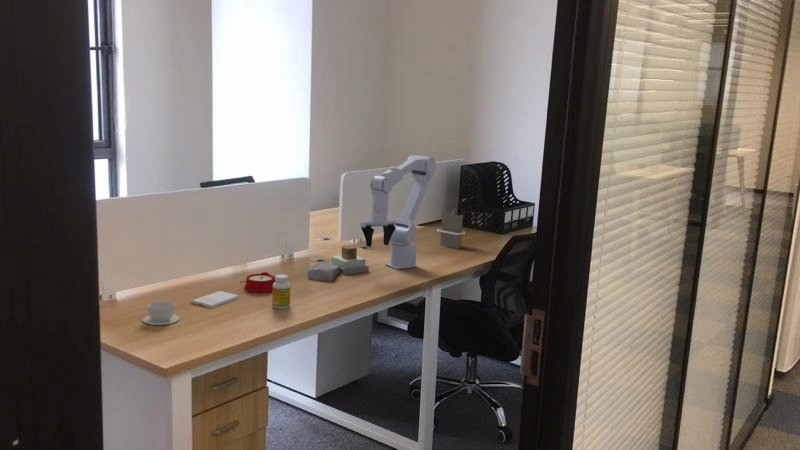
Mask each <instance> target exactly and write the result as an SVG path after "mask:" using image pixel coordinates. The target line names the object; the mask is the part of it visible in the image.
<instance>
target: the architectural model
mask: <svg viewBox="0 0 800 450" xmlns="http://www.w3.org/2000/svg"><path fill="white" fill-rule="evenodd" d="M441 214H442V215H441V227H439V228H437V229H436V230H437V232H440V244H439V245H440V246H443V247H448V248H453V249H460V248H462V235H465V234H466V230H463V222H464V221H463V220H464V219H463V218H464V215H463V214H461V215H457V214H453V212H450V213H444V212H442V213H441Z"/></svg>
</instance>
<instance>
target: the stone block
mask: <svg viewBox="0 0 800 450" xmlns="http://www.w3.org/2000/svg"><path fill="white" fill-rule="evenodd" d="M339 274H340V273H339V265H333V264H328V262H327V263H326V262H325V263H319V264H318V263H317V264H314V265H313V266H312V267H311V268H310V269H308V271H307V277H308V278H309V279H310V280H315V281H317V280H319V281H333V280H334V279H335V277H336V276H338V275H339Z"/></svg>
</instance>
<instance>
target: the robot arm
mask: <svg viewBox="0 0 800 450" xmlns="http://www.w3.org/2000/svg"><path fill="white" fill-rule="evenodd" d="M436 169H437V161H436V159H435V157H433V156H424V155H417V154H411V155H410V156H408V157H407V158H406V161H405V162H403V163H401V165H400V166H398V167H396V166H391V167H390V168H389V169H388V170H386V171H385V172H383V173H382V174H380V175H375V176H373V177H372V178H371V181H370V183H369V186H370V189H371V196H372V204H371V219H369V220H368V219H367V220H363V221H360V227H361V231H362V233H363V236H364V239H365V244H366V245H365V246H366V247H368V248H371V247H372V243H373V241H372V240H373V236H374V232H375V228H374V227H382V228H383V229H382V230H383V245H385V246H389V244H390V262H388V263H387V262H386V263H385V265H386V266H388V267H390V268H393V269H396V270H401V269H402V270H403V269H410V268H415V267H416V268H417V264H416V261H417V260H416V259H417V248H416V247H417V246H416V245H415V243H414V242H415V239H416V233H417V230H418V228H417V226H416V223H414V222H415V219H416V218H417V217H416V216H417V214H418V212H419V210H420V207H421V204H422V203H423V200H424V197H425V195H426V192H427V190H428V187H429V185H430V182H431V181H432V180H433V177H434V175H435V172H436ZM409 173H410V175H411V178H412V179H413V180H414V183H413V186H412V188H411V191H410V192H409V195H408V197H407V200H406V202H405V205H404V207H403V209H402V212H401V215H400V216H399V217H398V218H396V219H388V210H389V209H388V208H389V199H390V198H389V194H390V193H391V191H392V190H393V188H394V186H395V185H397V184H398V183H400V182H402V180H403V179H404V176H405V175H408V174H409Z"/></svg>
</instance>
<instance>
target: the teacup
mask: <svg viewBox="0 0 800 450" xmlns="http://www.w3.org/2000/svg"><path fill="white" fill-rule="evenodd" d="M175 305H176V304H175V303H174V302H172V301H168V300H165V301H164V300H156V301H153V302H152V301H151V302H150V303H148V304H147V306H146V307H147V313H148V315H146V316H145V317H143V318H142V322H143V323H145V324H147V325H150V326H151V325H152V326H161V325H162V326H164V325H169V324H170V325H171V324H174V323H177V322H178V321H180V316H178V315H177V314H174V313H175Z"/></svg>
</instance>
